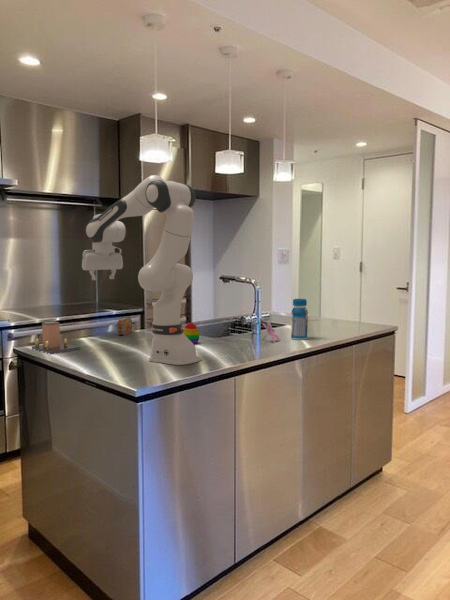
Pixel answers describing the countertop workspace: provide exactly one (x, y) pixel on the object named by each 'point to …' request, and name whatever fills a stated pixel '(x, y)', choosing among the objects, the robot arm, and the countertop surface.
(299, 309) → the beverage bottle
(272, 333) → the lily
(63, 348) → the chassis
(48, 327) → the block
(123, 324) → the tin
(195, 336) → the decorative egg
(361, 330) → the countertop surface
